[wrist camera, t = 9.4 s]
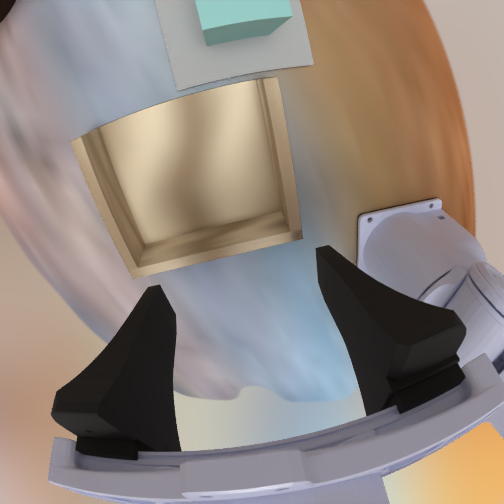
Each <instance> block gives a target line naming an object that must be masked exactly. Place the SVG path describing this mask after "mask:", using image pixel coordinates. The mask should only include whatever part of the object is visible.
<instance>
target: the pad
mask: <svg viewBox="0 0 504 504" xmlns="http://www.w3.org/2000/svg"><path fill="white" fill-rule="evenodd" d="M289 2H290V6H291V10H292V14H293V17H291V18H290V19H289V20H287V21H286V22H285V23H284V24H282V25H281V26H280V27H278V28H277V29H276V30H275V31H273V32H272V33H271V34H270V35H265V36H258V37H251V38H245V39H239V40H234V41H229V42H224V43H219V44H215V45H210V46H207V45H206V41H205V38H204V34H203V30H202V27H201V22H200V18H199V14H198V10H197V6H196V2H195V0H155V3H156V7H157V12H158V16H159V20H160V24H161V28H162V32H163V36H164V40H165V44H166V48H167V52H168V56H169V60H170V64H171V68H172V72H173V76H174V79H175V83H176V87H177V91H179V90H183V89H186V88H190V87H193V86H197V85H201V84H205V83H209V82H213V81H217V80H221V79H225V78H230V77H235V76H240V75H245V74H250V73H256V72H261V71H268V70H274V69H281V68H289V67H298V66H307V65H314V64H313V58H312V53H311V48H310V43H309V39H308V34H307V30H306V25H305V21H304V17H303V12H302V8H301V4H300V0H289Z"/></svg>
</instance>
